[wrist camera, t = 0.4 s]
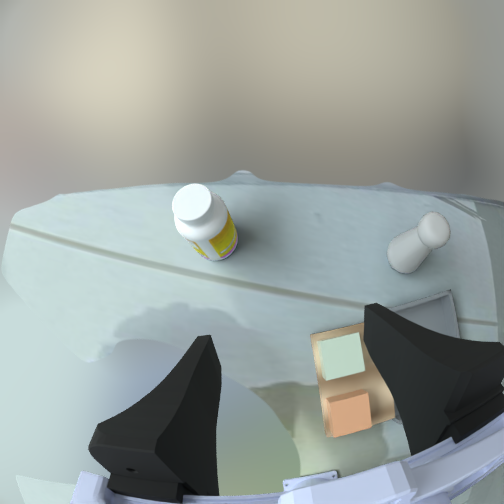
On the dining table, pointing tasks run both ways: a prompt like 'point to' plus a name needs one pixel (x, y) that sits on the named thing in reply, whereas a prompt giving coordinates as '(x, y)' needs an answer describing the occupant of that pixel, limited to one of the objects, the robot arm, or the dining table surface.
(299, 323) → the dining table surface
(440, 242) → the salt shaker
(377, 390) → the board
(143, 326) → the dining table surface
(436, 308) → the tray
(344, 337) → the tile sage
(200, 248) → the supplement bottle
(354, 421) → the tile terracotta
